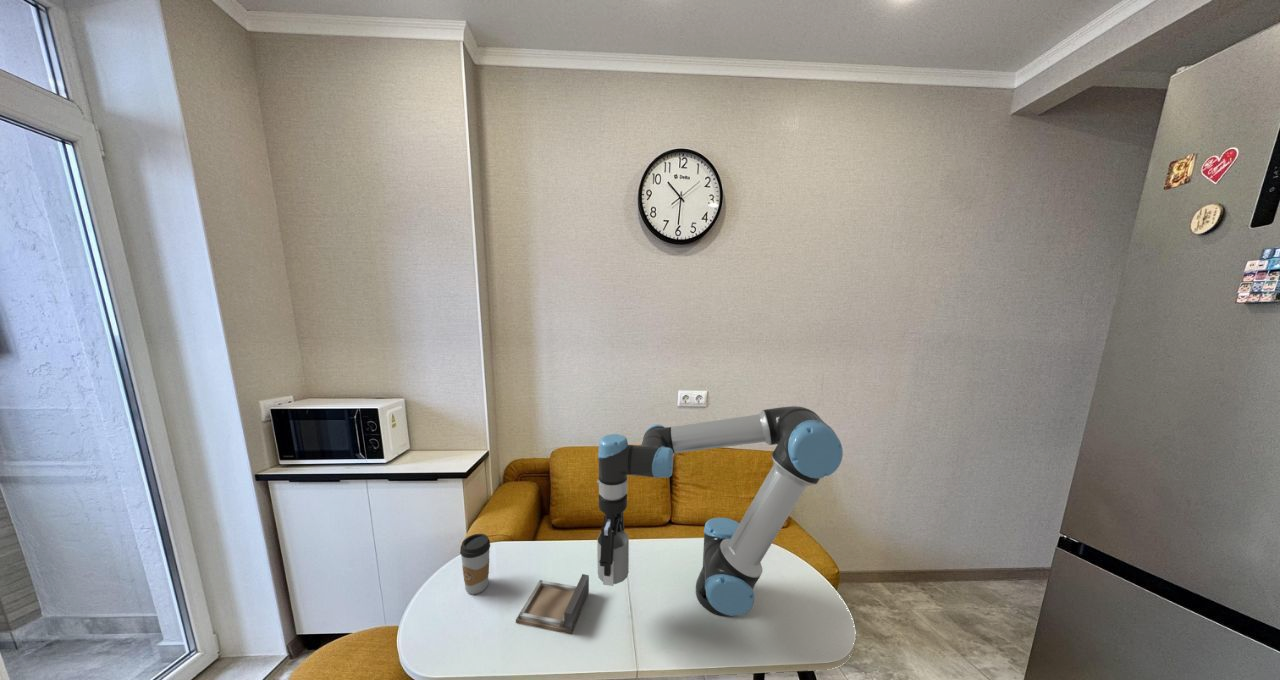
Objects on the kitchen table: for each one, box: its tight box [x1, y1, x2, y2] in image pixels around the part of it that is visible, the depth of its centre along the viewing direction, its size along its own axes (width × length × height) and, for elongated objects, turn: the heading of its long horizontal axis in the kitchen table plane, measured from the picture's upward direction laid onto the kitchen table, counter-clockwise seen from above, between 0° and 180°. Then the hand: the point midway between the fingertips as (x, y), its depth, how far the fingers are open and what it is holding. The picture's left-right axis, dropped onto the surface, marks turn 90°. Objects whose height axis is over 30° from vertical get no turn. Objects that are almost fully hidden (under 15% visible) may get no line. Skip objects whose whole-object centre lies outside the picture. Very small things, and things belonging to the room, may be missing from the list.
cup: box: [596, 530, 630, 585], centre depth 103 cm, size 8×8×10 cm
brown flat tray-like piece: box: [515, 573, 590, 635], centre depth 108 cm, size 16×14×6 cm
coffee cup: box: [459, 533, 491, 595], centre depth 114 cm, size 8×8×15 cm
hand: (613, 571), depth 103 cm, fingers closed on cup, 8 cm apart
